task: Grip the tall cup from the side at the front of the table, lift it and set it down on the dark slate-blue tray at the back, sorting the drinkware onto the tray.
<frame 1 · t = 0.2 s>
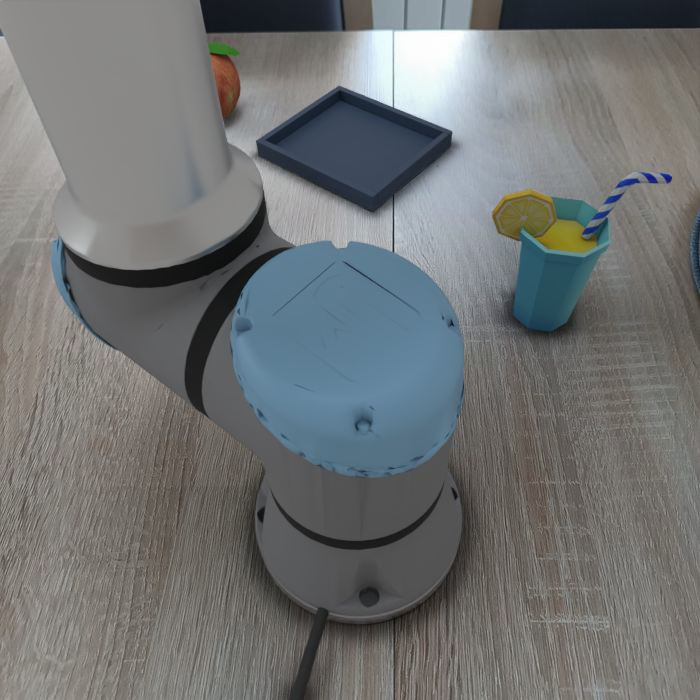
teacup: (206, 213, 73), on the table
tray: (354, 151, 79), on the table
fruit: (211, 116, 85), on the table
cup: (548, 311, 63), on the table
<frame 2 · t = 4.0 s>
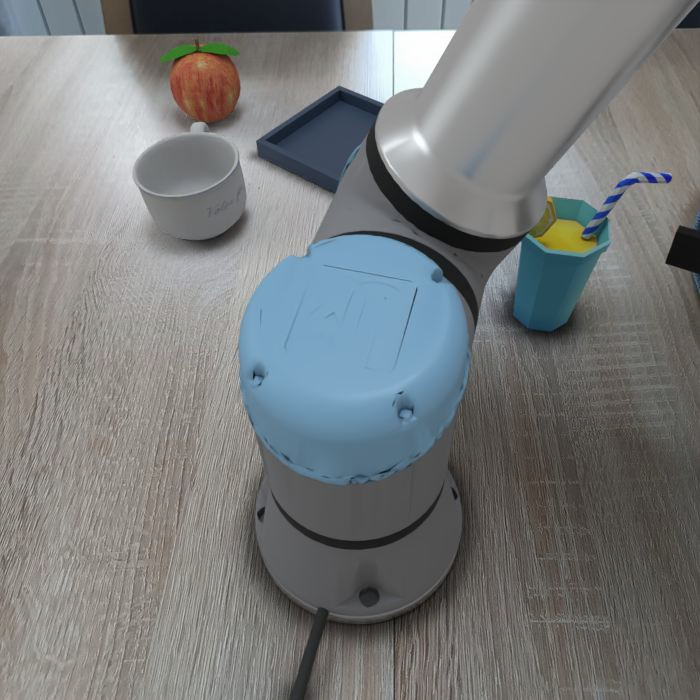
nothing on the table moved.
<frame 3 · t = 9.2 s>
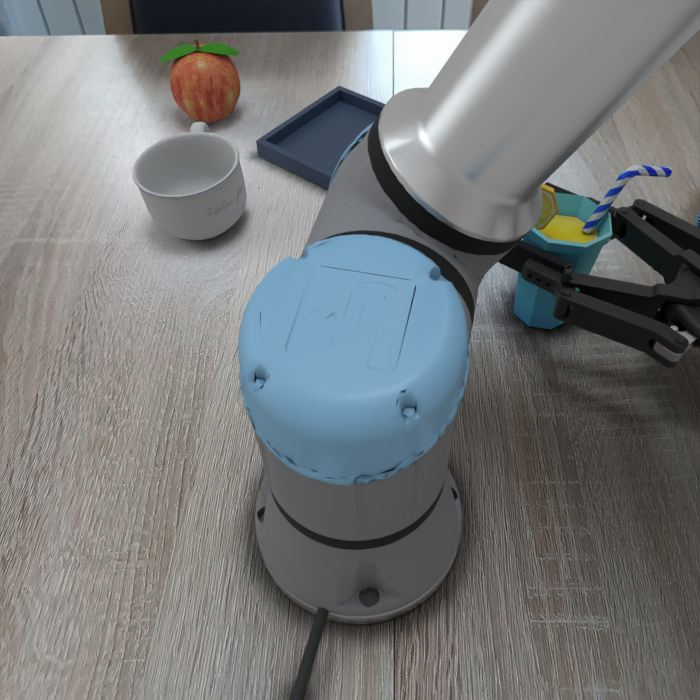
hand: (519, 219, 58), 9 cm above the table, tool horizontal, fingers closed on cup, 7 cm apart
cup: (549, 310, 63), on the table, touching gripper
everything else where it was.
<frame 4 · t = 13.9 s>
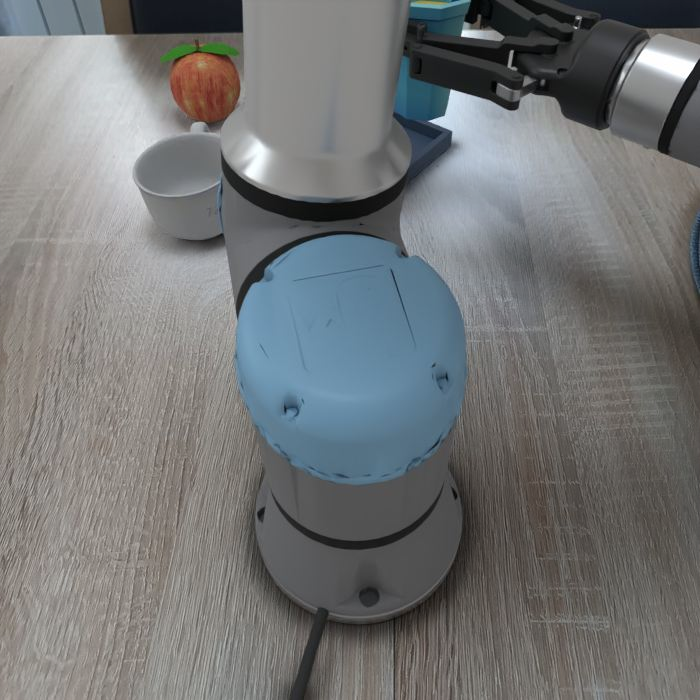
hand: (391, 5, 60), 20 cm above the table, tool horizontal, fingers closed on cup, 7 cm apart
cup: (429, 109, 64), point 11 cm above the table, touching gripper
everything else where it was.
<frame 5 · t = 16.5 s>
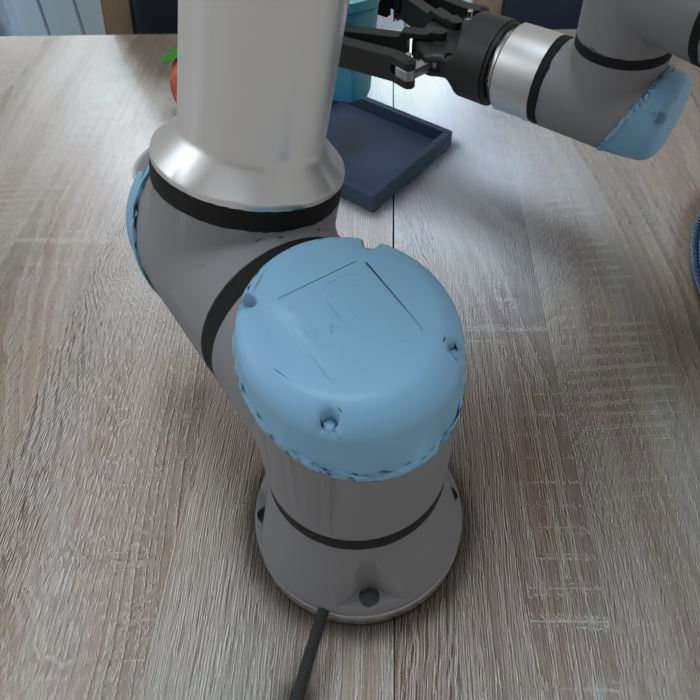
hand: (316, 1, 69), 16 cm above the table, tool horizontal, fingers closed on cup, 7 cm apart
cup: (354, 92, 74), point 8 cm above the table, touching gripper
everything else where it was.
when the fingers open (9 cm above the table, at t = 18.9 s): cup stays where it is, resting on tray.
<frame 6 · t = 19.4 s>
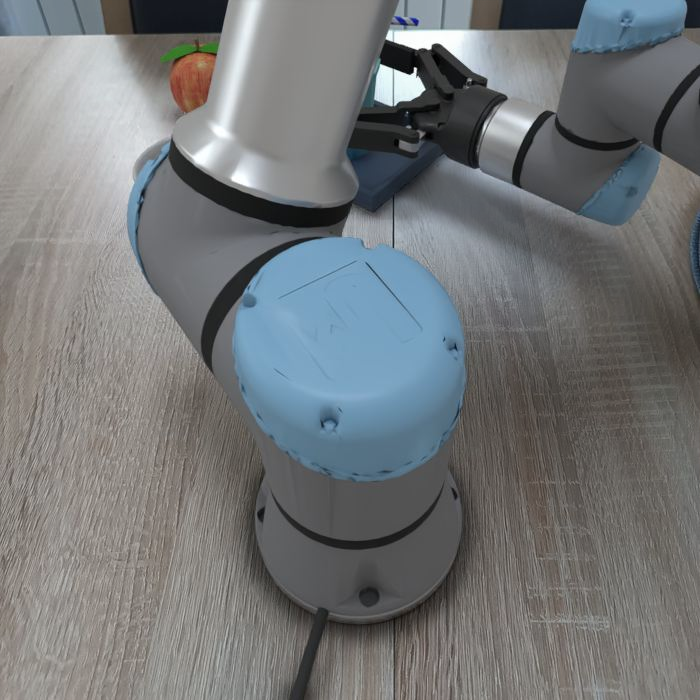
hand: (329, 69, 74), 9 cm above the table, tool horizontal, fingers open, 13 cm apart
cup: (355, 147, 79), resting on tray
everything else where it was.
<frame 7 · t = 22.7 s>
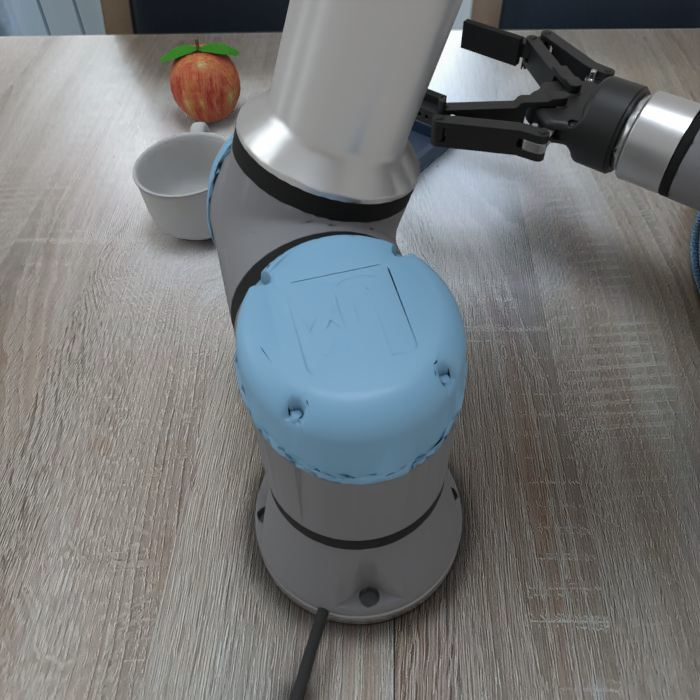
hand: (426, 59, 64), 14 cm above the table, tool horizontal, fingers open, 13 cm apart
nothing on the table moved.
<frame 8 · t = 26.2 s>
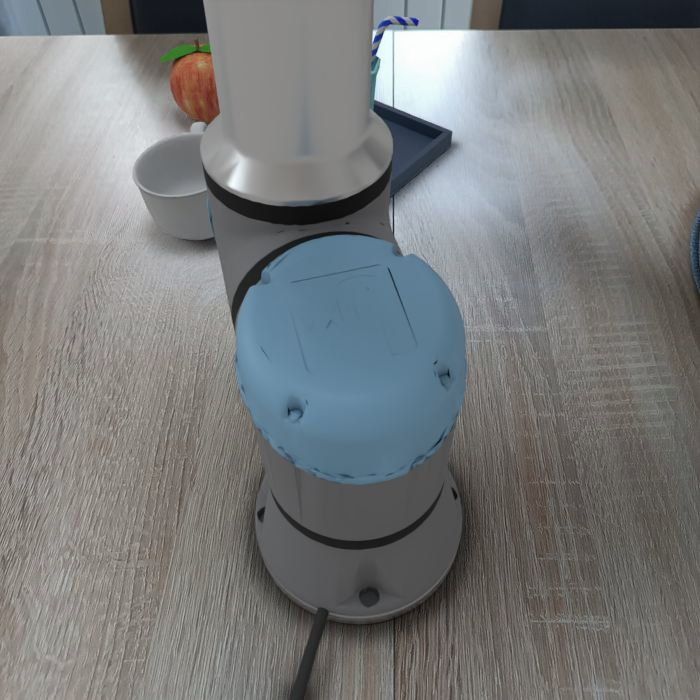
nothing on the table moved.
at the end: cup inside the target area in the tray (0.1 cm from its centre), point 0.4 cm above the tray's base; cup tilted 0° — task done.
